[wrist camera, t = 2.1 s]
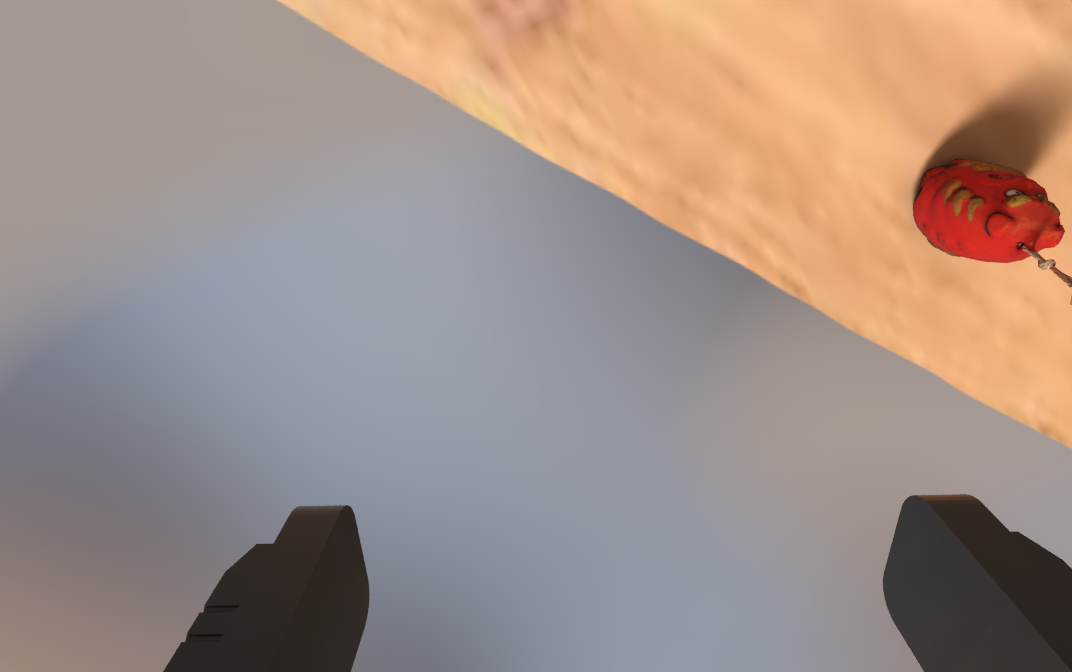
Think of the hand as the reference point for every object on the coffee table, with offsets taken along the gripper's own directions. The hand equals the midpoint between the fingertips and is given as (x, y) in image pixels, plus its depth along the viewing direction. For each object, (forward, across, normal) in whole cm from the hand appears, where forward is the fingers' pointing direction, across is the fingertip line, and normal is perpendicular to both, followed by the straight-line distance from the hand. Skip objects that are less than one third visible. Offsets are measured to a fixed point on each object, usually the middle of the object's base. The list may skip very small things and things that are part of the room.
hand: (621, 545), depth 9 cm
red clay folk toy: (+42, -31, +5) cm, 52 cm away
